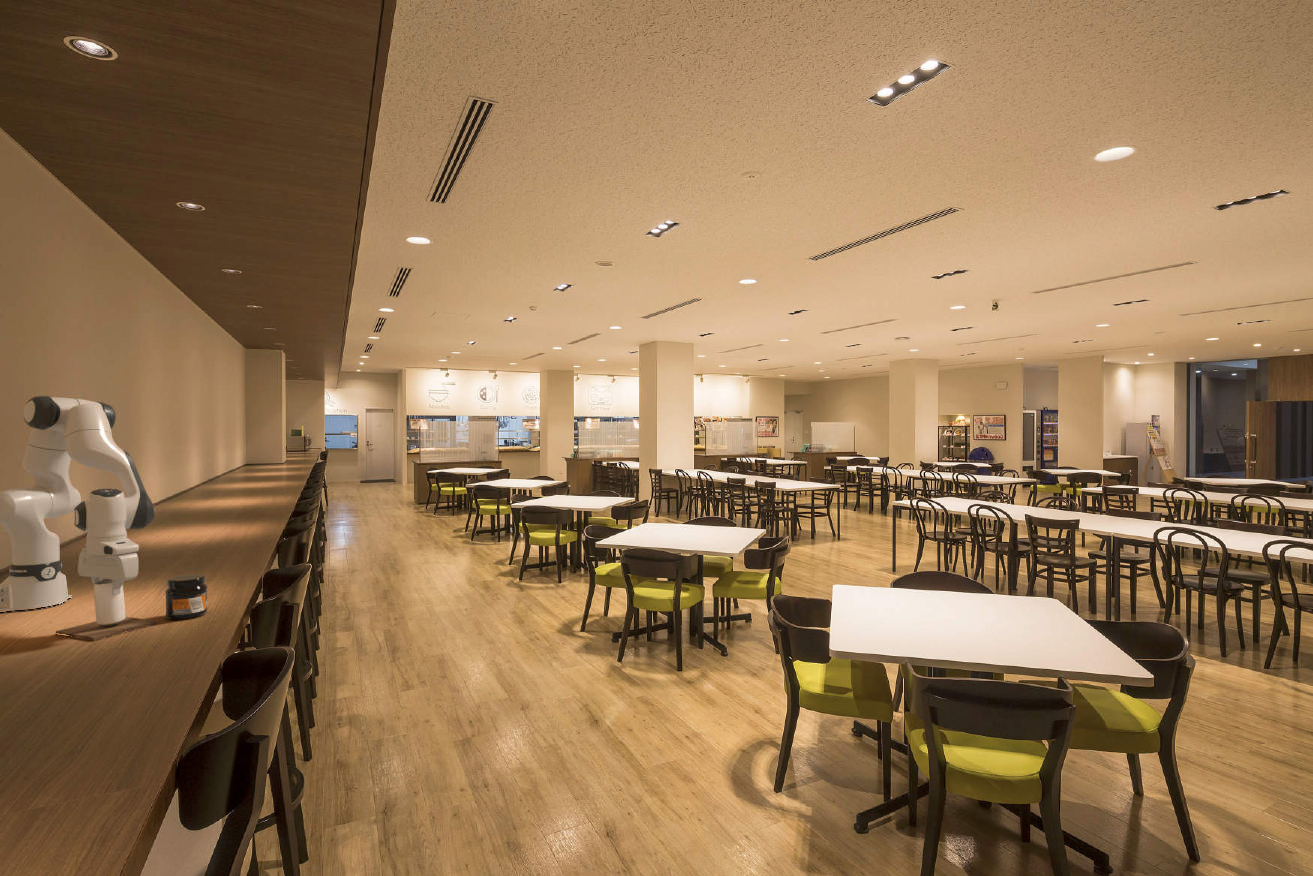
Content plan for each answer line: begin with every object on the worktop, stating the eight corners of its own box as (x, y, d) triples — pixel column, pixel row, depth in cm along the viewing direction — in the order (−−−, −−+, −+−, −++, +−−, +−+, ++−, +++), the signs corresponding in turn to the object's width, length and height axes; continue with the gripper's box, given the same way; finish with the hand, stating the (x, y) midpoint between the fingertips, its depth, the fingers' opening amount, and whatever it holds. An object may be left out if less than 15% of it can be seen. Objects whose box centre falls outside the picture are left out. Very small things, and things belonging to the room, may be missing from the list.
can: (131, 618, 187) (128, 577, 186) (110, 626, 181) (106, 584, 180) (112, 617, 188) (109, 577, 187) (90, 625, 182) (86, 584, 181)
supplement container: (202, 619, 195) (201, 579, 195) (160, 622, 191) (159, 582, 191) (211, 609, 205) (211, 572, 204) (172, 613, 201) (171, 575, 200)
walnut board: (55, 634, 179) (55, 631, 179) (119, 618, 194) (119, 615, 194) (93, 641, 174) (93, 637, 174) (156, 624, 189) (156, 620, 189)
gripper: (70, 545, 184) (70, 592, 184) (118, 549, 178) (119, 599, 178) (95, 541, 190) (95, 587, 190) (143, 545, 184) (143, 593, 184)
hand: (107, 593), depth 184 cm, fingers closed on can, 5 cm apart
